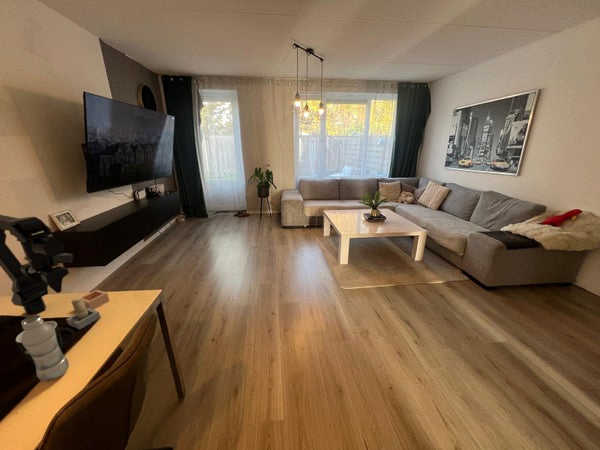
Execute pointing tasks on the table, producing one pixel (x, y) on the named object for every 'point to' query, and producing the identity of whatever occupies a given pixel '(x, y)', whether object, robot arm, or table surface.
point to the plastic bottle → (43, 348)
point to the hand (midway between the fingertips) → (52, 289)
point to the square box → (95, 299)
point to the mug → (58, 337)
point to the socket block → (84, 322)
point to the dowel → (80, 308)
